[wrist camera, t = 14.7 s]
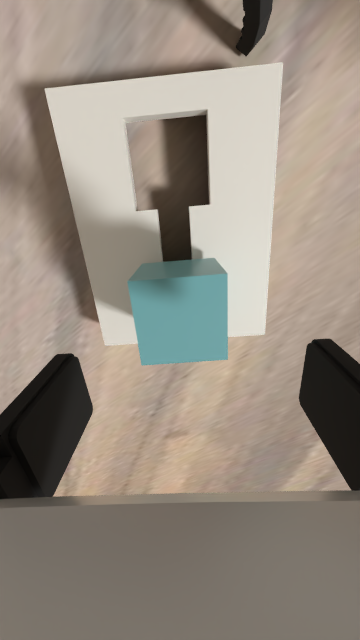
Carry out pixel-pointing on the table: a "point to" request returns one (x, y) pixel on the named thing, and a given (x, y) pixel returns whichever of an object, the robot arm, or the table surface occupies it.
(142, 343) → the slider
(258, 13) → the black striped sneaker
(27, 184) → the table surface
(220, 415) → the table surface
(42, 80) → the table surface
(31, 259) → the table surface
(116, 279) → the keyhole deck
